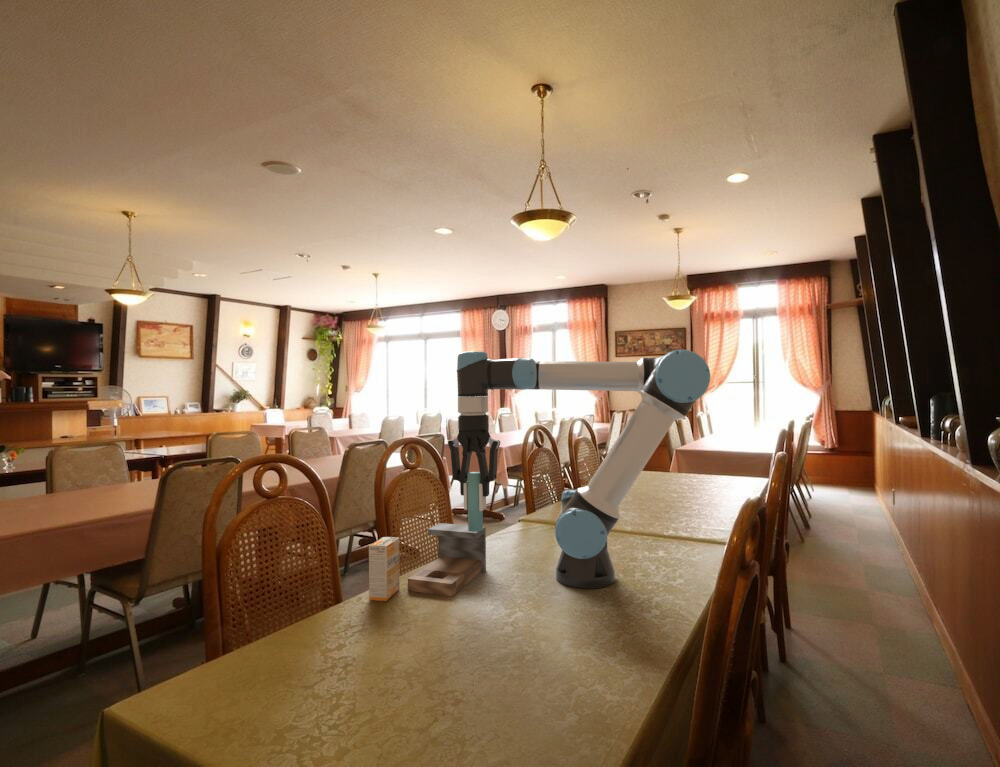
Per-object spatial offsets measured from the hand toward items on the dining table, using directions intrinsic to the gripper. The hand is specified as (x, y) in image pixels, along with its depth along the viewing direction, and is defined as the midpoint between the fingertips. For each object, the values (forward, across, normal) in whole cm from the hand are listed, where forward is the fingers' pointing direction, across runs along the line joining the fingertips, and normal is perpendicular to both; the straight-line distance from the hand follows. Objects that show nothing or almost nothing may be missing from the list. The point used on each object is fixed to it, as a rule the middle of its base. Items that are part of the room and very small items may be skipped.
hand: (475, 508), depth 135 cm
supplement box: (+20, +20, +9) cm, 30 cm away
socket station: (+20, +10, -4) cm, 23 cm away
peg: (+5, 0, 0) cm, 5 cm away
